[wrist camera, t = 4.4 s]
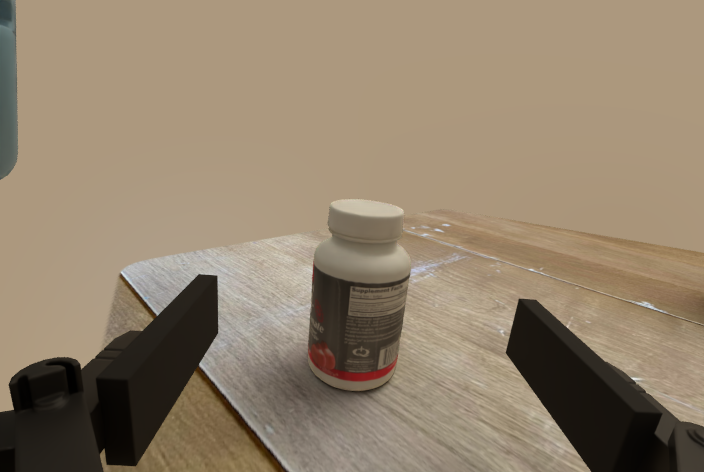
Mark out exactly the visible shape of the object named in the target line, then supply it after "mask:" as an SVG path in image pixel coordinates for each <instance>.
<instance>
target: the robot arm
mask: <svg viewBox="0 0 704 472" xmlns="http://www.w3.org/2000/svg"><path fill="white" fill-rule="evenodd" d="M15 5H16V4H15V0H0V179H2V178H4V177H5V176H7V175H8V174H9V173H10V172H11V170H12V169H13V168H14V166H15V164H16V162H17V155H18V127H17V126H18V124H17V64H16V6H15ZM217 334H218V286H217V276H214V275H201V274H199V275H198V276H197V277H196V278H195V279H194V280H193V281H192V282H191V283H190V284H189V285H188V286H187V287H186V288H185V289H184V290H183V291H182V292H181V293H180V294H179V295H178V296H177V297H176V298H175V299H174V300H173V301H172V302H171V303H170V304H169V305H168V306H167V307H166V308H165V309H164V310H163V311H162V312H161V313H160V314H159V315H158V316H157V317H156V318H155V319H154V320H153V321H152V322H151V323H150V324H149V325H148V326H147V327H146V328H145V329H144V330H143V331H129V332H127V333H125V334H123V335H121V336H119V337H117V338H115V339H114V340H113V341H112V342H111V343H110V344H109V345H108V346H106V347H105V348H104V350H102V351H101V352H100V353H99V354H98V355H97V356H96V357H95V359H92V360H91V361H90V362H89V363H88V364H87V365H86V366H85V367H84V368H82V369H81V367H80V363H79V362H78V361H77V360H76V359H72V358H68V357H67V358H65V357H61V358H60V357H57V358H52V359H47V360H43V361H40V362H37V363H34V364H31V365H29V366H27V367H26V368H24V369H22V370H20V371H19V372H18V373H17V374H15V375H14V376H13V377H12V378H11V381H10V383H9V388H10V393H11V398H12V402H13V407H14V410H11V411H5V412H0V472H103V467H102V463H101V459H100V453H101V452H102V451H103V449H104V448H105V455H106V463H107V465H122V466H136V465H137V464H138V462H139V460H140V459H141V457H142V456H143V454H144V452H145V451H146V449H147V447H148V446H149V444H150V443H151V441H152V439H153V438H154V436H155V434H156V433H157V431H158V430H159V428H160V426H161V425H162V423H163V422H164V420H165V418H166V417H167V415H168V413H169V412H170V410H171V409H172V407H173V405H174V404H175V402H176V400H177V399H178V397H179V396H180V394H181V392H182V391H183V389H184V387H185V386H186V384H187V383H188V381H189V379H190V378H191V376H192V375H193V373H194V371H195V370H196V368H197V366H198V365H199V363H200V362H201V360H202V358H203V357H204V355H205V353H206V352H207V350H208V349H209V347H210V345H211V344H212V342H213V340H214V339H215V337H216V336H217ZM506 354H507V355H508V357H509V358H510V359H511V361H512V362H513V363H514V365H515V366H516V368H517V369H518V370H519V372H520V373H521V375H522V376H523V377H524V379H525V380H526V382H527V383H528V384H529V386H530V387H531V388H532V390H533V391H534V393H535V394H536V395H537V397H538V398H539V400H540V401H541V402H542V404H543V405H544V407H545V408H546V409H547V411H548V412H549V413H550V415H551V416H552V418H553V419H554V420H555V422H556V423H557V425H558V426H559V427H560V429H561V430H562V432H563V433H564V434H565V436H566V437H567V438H568V440H569V441H570V443H571V444H572V445H573V447H574V448H575V450H576V451H577V452H578V454H579V455H580V457H581V458H582V459H583V461H584V462H585V463H586V465H587V466H588V468H589V469H590V470H591V472H704V427H703V426H700V425H697V424H694V423H690V422H683V421H682V422H681V421H679V420H678V419H677V418H676V417H675V416H674V415H672V414H671V413H670V412H669V411H668V410H667V409H666V408H664V407H663V406H662V405H661V404H660V403H659V402H658V401H656V400H655V399H654V398H653V397H652V396H651V395H650V394H648V393H646V391H645V390H644V389H643V388H641V387H640V386H639V385H637V384H636V382H635V381H633V380H632V379H631V378H630V377H629V376H628V375H627V374H625V373H624V372H623V371H621V370H620V369H618V368H616V367H615V366H613V365H611V364H610V363H608V362H605V361H604V360H602V359H601V358H600V357H599V356H598V355H597V354H596V353H595V352H594V351H592V350H591V349H590V348H589V347H588V346H587V345H586V344H585V343H583V342H582V341H581V340H580V339H579V338H578V337H577V336H576V335H575V334H573V333H572V332H571V331H570V330H569V329H568V328H567V327H566V326H564V325H563V324H562V323H561V322H560V321H559V320H558V319H557V318H556V317H554V316H553V315H552V314H551V313H550V312H549V311H548V310H547V309H545V308H544V307H543V306H542V305H541V304H540V303H539V302H538V301H537V300H530V299H519V301H518V305H517V309H516V313H515V317H514V321H513V325H512V329H511V333H510V338H509V342H508V346H507V350H506Z"/></svg>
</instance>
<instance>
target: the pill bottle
mask: <svg viewBox="0 0 704 472" xmlns="http://www.w3.org/2000/svg"><path fill="white" fill-rule="evenodd" d="M403 221H404V211H403V210H402V209H401V208H399V207H396V206H394V205H390V204H387V203H383V202H377V201H369V200H356V199H350V200H338V201H334V202H332V203H331V205H330V209H329V218H328V226H329V231H330V232H331V233H332V237H330V238H327V239H326V240H324V241H323V242H321V243H320V244H319V245H318V247H317V248H316V251H315V254H314V261H313V277H312V297H311V313H310V328H309V340H308V362H309V366H310V368H311V370H312V371H313V372H314V374H315V375H316V376H317V377H318V378H320V379H321V380H322V381H324V382H325V383H327V384H329V385H331V386H333V387H336V388H339V389H343V390H349V391H364V390H369V389H373V388H376V387H378V386H381V385H382V384H384V383H385V382H387V381H388V380H389V379H390V378H391V377H392V375H393V373H394V371H395V368H396V362H397V357H398V351H399V344H400V337H401V331H402V325H403V317H404V310H405V303H406V297H407V290H408V283H409V277H410V271H411V260H410V257H409V255H408V253H407V252H406V250H405V249H404V248H402V247H401V246H400V245H398V244H397V240H399V239H400V238H401V237H402V233H403Z"/></svg>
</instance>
